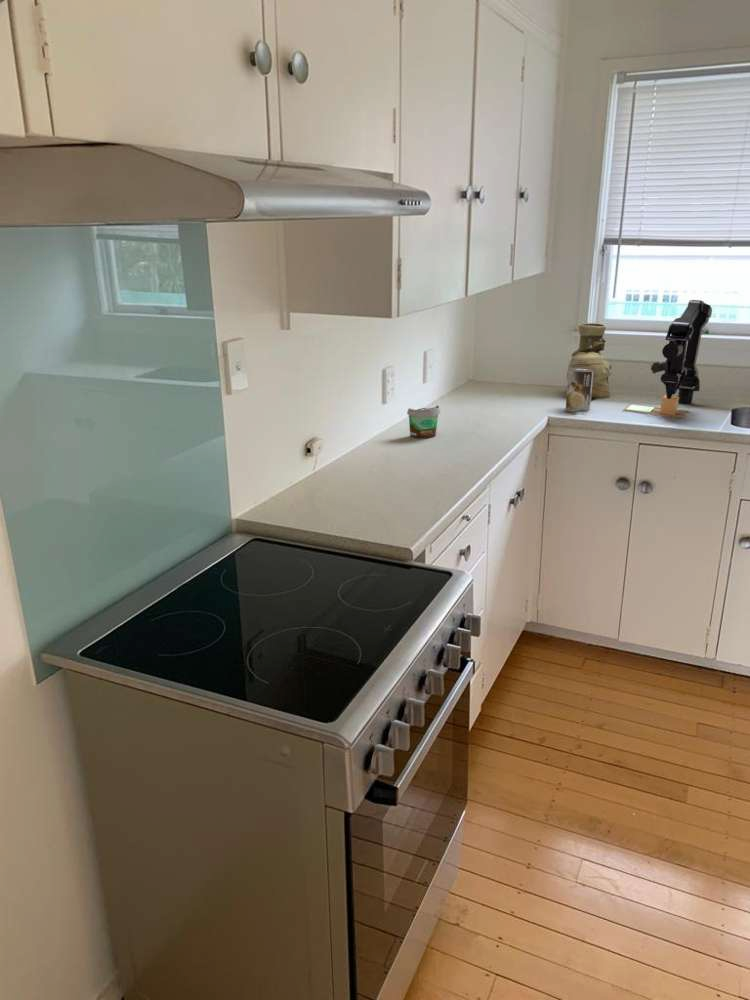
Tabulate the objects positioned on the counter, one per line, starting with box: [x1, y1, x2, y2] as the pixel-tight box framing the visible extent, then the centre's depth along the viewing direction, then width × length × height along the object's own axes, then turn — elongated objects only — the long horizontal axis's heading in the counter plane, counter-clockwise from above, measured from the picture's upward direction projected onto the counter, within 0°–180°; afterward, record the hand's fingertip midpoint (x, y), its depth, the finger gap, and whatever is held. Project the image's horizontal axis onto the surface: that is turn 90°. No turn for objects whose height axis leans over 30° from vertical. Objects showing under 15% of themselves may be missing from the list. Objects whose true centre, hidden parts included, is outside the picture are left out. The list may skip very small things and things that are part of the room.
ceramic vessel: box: [566, 322, 612, 400], centre depth 314 cm, size 19×21×30 cm
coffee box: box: [564, 368, 594, 413], centre depth 291 cm, size 9×6×16 cm
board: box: [621, 403, 689, 420], centre depth 290 cm, size 14×22×1 cm, turn 59°
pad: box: [626, 404, 656, 413], centre depth 292 cm, size 9×9×1 cm
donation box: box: [660, 394, 679, 415], centre depth 286 cm, size 5×5×6 cm
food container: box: [406, 404, 441, 439], centre depth 255 cm, size 12×6×10 cm, turn 117°
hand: (670, 396), depth 285 cm, fingers open, 9 cm apart
